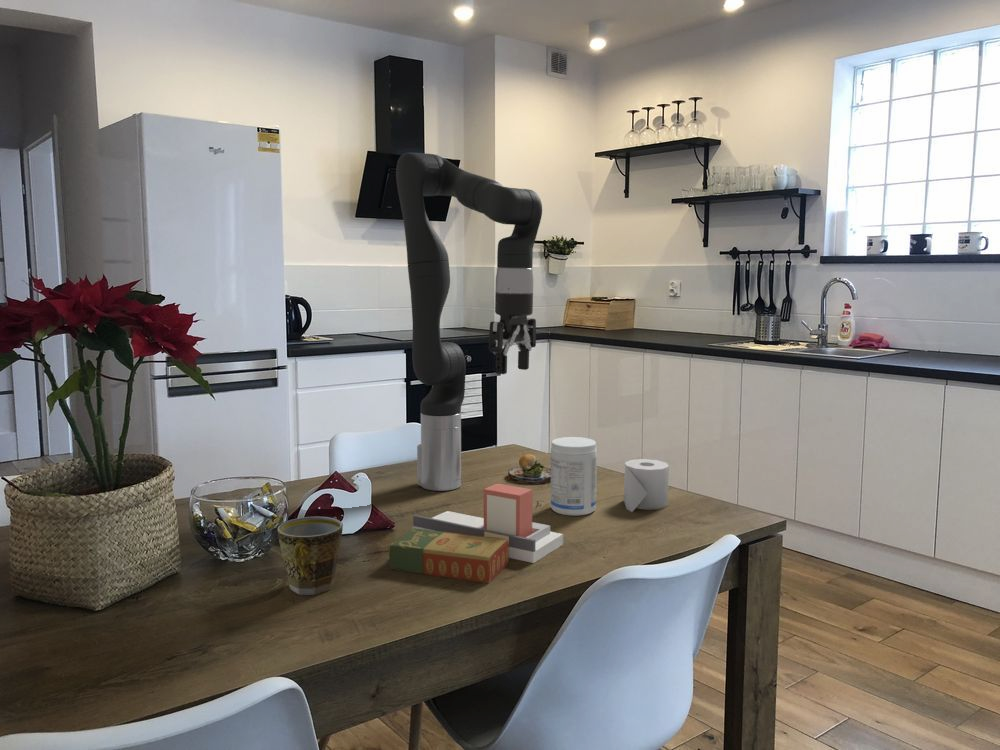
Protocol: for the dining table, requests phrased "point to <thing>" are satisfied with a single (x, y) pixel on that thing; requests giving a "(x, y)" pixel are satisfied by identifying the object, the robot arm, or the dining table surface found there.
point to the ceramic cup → (310, 552)
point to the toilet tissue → (646, 484)
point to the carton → (450, 555)
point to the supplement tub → (573, 475)
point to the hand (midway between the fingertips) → (512, 371)
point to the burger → (529, 471)
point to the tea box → (508, 510)
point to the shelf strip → (495, 534)
